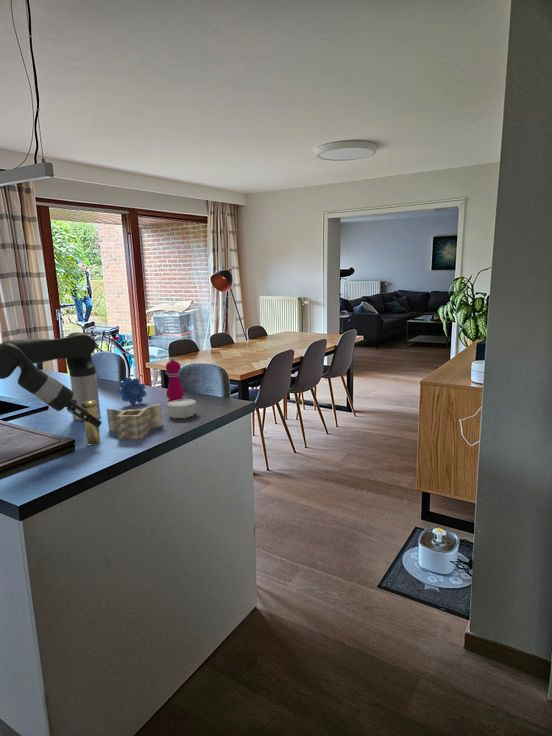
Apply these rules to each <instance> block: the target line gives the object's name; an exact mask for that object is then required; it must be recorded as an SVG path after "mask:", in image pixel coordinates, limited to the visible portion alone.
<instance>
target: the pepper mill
mask: <svg viewBox="0 0 552 736" xmlns="http://www.w3.org/2000/svg"><path fill="white" fill-rule="evenodd" d="M165 370H166V372H167V377H168V385H167V389H166V397H167V398H168V402H170V401H173V400H179V399H183V397H184V395H185V392H184V388H183V386H182V384H181V382H180V376H181V374H180V373H181V372H180V370H181V363H180V362H179V361H177V360H175V357H173V356H172V357H170V361H168V362H167V363H166V364H165ZM168 402H167V403H168Z"/></svg>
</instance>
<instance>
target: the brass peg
mask: <svg viewBox="0 0 552 736" xmlns="http://www.w3.org/2000/svg"><path fill="white" fill-rule="evenodd" d="M96 404H97V402H96V400H88V401H84V402H82V406H83V407H84V408H85V409H87V412H88V413H90V414H92V416H94V417H95V418H97V419H98V420H99V418H98V417H97V408H96ZM87 416H88V415H87V414H86V415H85V416H84V418H86V417H87ZM84 427H85V436H86V444H87V445H88V444H91V445H90V446H94V445H93V444H97V443H99V444H101V436H100V426H99V427H95V426H94V425H92V424H91V423H89V422H85V421H84ZM97 445H98V444H97Z"/></svg>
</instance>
